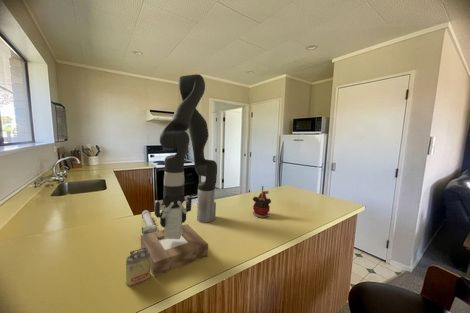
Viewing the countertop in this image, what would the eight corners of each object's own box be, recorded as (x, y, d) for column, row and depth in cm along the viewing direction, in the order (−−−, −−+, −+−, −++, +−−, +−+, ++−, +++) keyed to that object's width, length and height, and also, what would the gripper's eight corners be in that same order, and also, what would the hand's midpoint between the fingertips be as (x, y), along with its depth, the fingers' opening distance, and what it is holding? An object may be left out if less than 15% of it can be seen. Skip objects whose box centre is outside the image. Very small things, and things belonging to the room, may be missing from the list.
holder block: (187, 234, 92) (187, 223, 91) (207, 256, 76) (208, 244, 75) (140, 247, 80) (140, 235, 79) (153, 276, 64) (153, 262, 63)
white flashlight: (149, 217, 109) (159, 236, 88) (136, 219, 105) (143, 240, 84) (149, 208, 108) (159, 225, 87) (136, 210, 105) (143, 228, 84)
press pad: (180, 236, 84) (180, 234, 84) (189, 246, 76) (189, 244, 76) (158, 242, 78) (158, 240, 78) (165, 254, 71) (165, 251, 71)
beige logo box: (127, 287, 59) (126, 256, 58) (124, 280, 62) (124, 250, 61) (151, 277, 63) (151, 248, 62) (148, 271, 66) (148, 243, 65)
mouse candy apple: (250, 216, 115) (252, 186, 113) (254, 211, 124) (255, 183, 122) (268, 219, 111) (270, 189, 109) (270, 213, 120) (272, 185, 118)
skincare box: (182, 234, 79) (183, 205, 78) (179, 239, 75) (180, 209, 74) (167, 233, 79) (167, 204, 78) (163, 239, 75) (164, 208, 73)
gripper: (187, 179, 82) (186, 217, 84) (151, 182, 73) (151, 224, 75) (195, 183, 76) (194, 223, 78) (157, 187, 67) (156, 233, 69)
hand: (173, 224), depth 76 cm, fingers closed on skincare box, 7 cm apart
